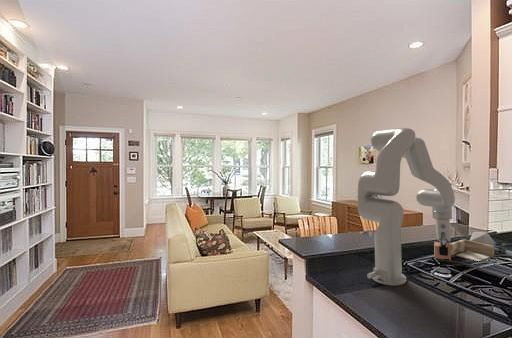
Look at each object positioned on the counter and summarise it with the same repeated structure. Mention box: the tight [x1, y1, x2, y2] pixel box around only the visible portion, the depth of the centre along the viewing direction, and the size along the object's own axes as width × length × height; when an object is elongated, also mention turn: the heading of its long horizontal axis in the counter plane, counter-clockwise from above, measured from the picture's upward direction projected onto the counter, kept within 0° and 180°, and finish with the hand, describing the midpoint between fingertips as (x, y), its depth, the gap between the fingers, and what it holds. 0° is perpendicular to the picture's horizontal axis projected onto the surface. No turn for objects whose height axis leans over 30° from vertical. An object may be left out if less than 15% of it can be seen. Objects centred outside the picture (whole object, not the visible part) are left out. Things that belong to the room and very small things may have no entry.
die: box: [469, 231, 495, 246], centre depth 140 cm, size 8×9×10 cm
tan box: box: [449, 238, 495, 263], centre depth 133 cm, size 13×12×5 cm
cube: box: [433, 241, 452, 261], centre depth 133 cm, size 6×6×6 cm
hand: (442, 251), depth 133 cm, fingers open, 9 cm apart
